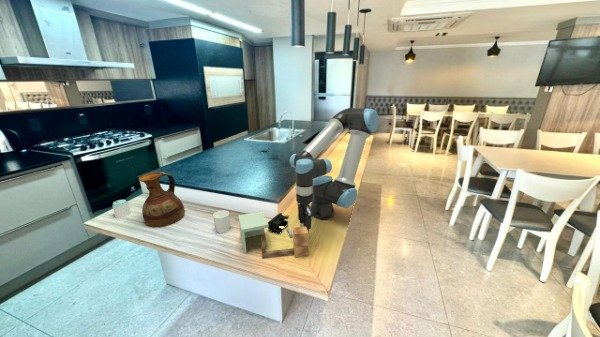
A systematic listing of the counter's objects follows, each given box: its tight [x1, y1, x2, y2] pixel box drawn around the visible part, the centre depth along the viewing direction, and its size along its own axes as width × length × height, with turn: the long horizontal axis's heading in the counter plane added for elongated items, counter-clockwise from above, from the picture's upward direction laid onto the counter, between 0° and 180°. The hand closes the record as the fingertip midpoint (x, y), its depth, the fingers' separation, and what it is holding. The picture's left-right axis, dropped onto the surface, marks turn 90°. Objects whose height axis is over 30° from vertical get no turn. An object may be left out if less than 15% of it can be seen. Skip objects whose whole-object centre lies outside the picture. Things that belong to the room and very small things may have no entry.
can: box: [112, 199, 132, 219], centre depth 130 cm, size 7×7×12 cm
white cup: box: [212, 209, 231, 234], centre depth 120 cm, size 8×8×10 cm
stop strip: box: [285, 226, 293, 239], centre depth 118 cm, size 1×7×2 cm, turn 20°
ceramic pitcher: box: [138, 171, 186, 228], centre depth 126 cm, size 20×20×30 cm
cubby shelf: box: [238, 210, 269, 254], centre depth 110 cm, size 12×13×12 cm
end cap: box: [267, 212, 289, 235], centre depth 122 cm, size 10×7×7 cm
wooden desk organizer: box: [261, 226, 309, 259], centre depth 105 cm, size 20×12×12 cm, turn 99°
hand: (304, 237), depth 111 cm, fingers open, 3 cm apart
